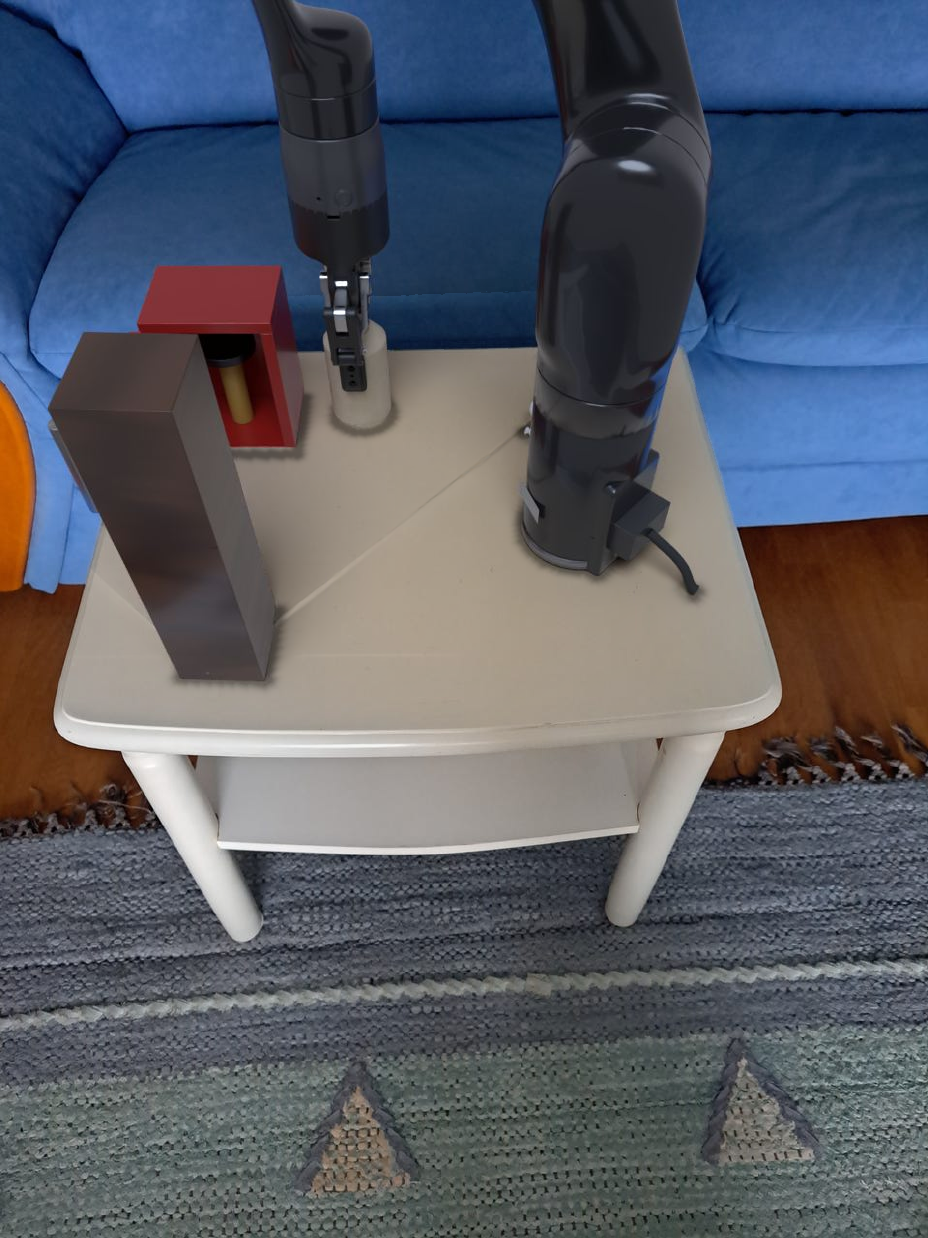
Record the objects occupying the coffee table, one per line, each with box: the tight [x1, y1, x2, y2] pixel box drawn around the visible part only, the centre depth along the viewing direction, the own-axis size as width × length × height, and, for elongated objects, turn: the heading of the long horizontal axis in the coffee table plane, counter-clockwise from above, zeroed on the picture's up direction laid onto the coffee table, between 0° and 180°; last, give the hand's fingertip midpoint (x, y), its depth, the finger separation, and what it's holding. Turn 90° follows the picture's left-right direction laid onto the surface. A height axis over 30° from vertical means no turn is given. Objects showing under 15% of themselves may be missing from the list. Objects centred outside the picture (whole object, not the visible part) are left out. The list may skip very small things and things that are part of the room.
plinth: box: [47, 331, 277, 682], centre depth 57 cm, size 6×6×26 cm
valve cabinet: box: [136, 264, 305, 448], centre depth 76 cm, size 8×10×14 cm
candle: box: [322, 314, 392, 427], centre depth 79 cm, size 6×6×10 cm
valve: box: [198, 334, 256, 424], centre depth 77 cm, size 5×5×8 cm
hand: (357, 366), depth 78 cm, fingers closed on candle, 5 cm apart
